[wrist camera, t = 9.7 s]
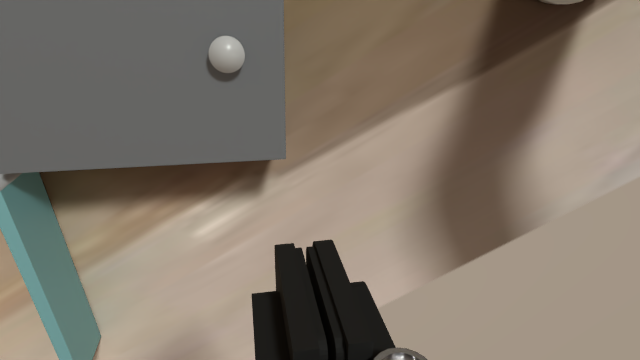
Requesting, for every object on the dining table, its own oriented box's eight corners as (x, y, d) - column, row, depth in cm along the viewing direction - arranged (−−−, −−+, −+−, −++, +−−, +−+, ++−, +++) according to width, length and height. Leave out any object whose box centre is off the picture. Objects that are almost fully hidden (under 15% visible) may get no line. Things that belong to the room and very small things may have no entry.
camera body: (274, -7, 33) (284, -9, 27) (277, 136, 38) (287, 162, 32) (-48, -15, 29) (-122, -20, 23) (1, 148, 33) (-49, 180, 27)
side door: (102, 336, 42) (84, 383, 37) (89, 338, 42) (69, 386, 37) (32, 151, 34) (-4, 178, 29) (16, 153, 34) (-23, 181, 28)
